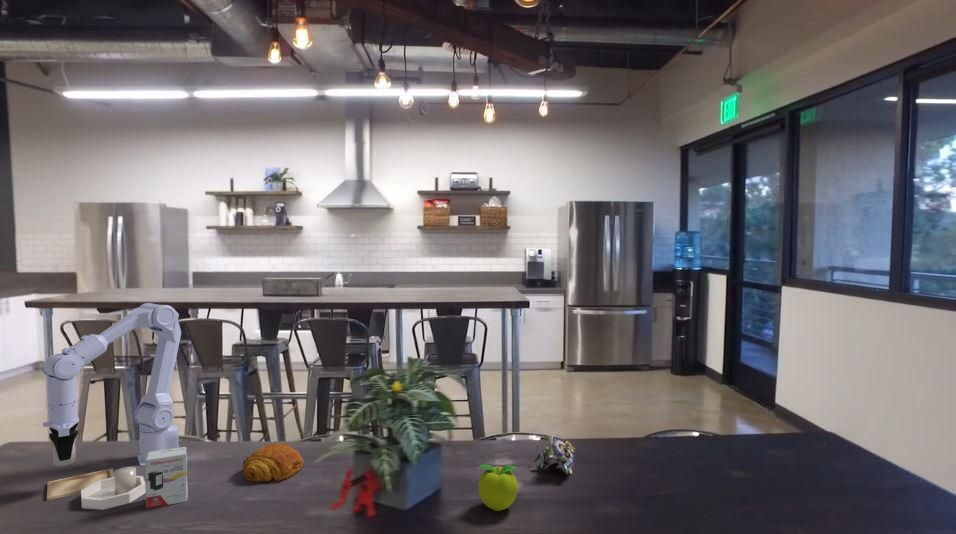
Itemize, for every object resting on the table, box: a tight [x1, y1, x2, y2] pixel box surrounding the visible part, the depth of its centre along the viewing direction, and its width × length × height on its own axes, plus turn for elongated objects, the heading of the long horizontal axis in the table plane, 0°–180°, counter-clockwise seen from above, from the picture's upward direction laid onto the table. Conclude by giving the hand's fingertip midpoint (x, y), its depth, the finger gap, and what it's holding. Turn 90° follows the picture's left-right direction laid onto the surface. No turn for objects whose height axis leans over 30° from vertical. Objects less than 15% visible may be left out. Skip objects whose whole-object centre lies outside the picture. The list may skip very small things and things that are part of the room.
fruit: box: [477, 463, 519, 512], centre depth 126 cm, size 9×9×10 cm
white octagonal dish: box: [80, 475, 146, 511], centre depth 130 cm, size 13×13×3 cm
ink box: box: [145, 446, 189, 510], centre depth 128 cm, size 9×5×12 cm, turn 117°
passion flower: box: [533, 435, 577, 476], centre depth 146 cm, size 11×11×12 cm
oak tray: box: [46, 468, 115, 501], centre depth 136 cm, size 14×11×1 cm
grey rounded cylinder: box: [113, 466, 137, 495], centre depth 132 cm, size 4×4×5 cm
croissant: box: [242, 442, 304, 483], centre depth 145 cm, size 14×16×8 cm
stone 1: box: [52, 440, 77, 467], centre depth 134 cm, size 4×4×5 cm
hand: (65, 456), depth 134 cm, fingers closed on stone 1, 4 cm apart
